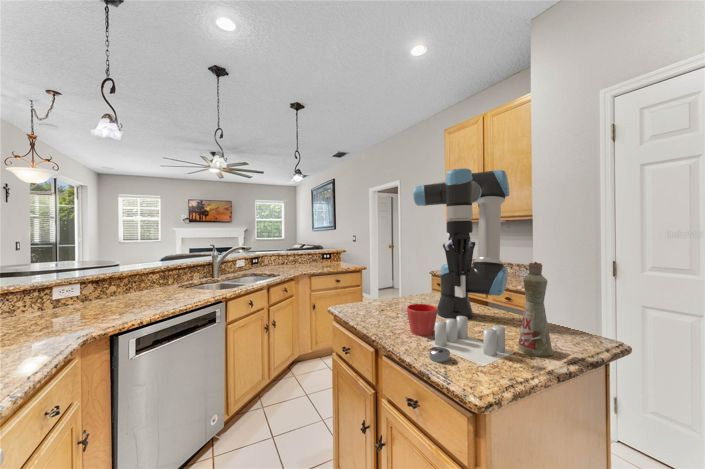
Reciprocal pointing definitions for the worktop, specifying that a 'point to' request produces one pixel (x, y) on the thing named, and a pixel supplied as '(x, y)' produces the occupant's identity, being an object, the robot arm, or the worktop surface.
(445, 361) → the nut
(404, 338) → the worktop surface
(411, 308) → the flower pot
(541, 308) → the bottle
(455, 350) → the board
